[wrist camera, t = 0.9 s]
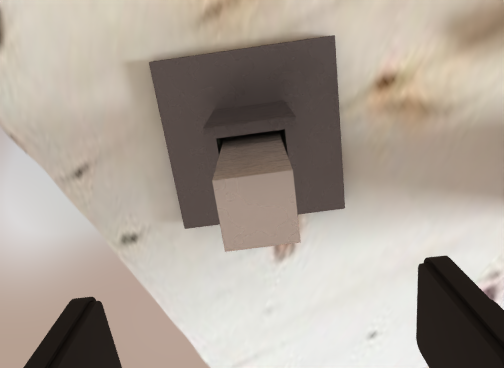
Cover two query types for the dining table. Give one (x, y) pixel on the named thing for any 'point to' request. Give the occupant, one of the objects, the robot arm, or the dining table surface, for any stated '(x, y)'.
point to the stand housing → (253, 118)
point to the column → (255, 192)
